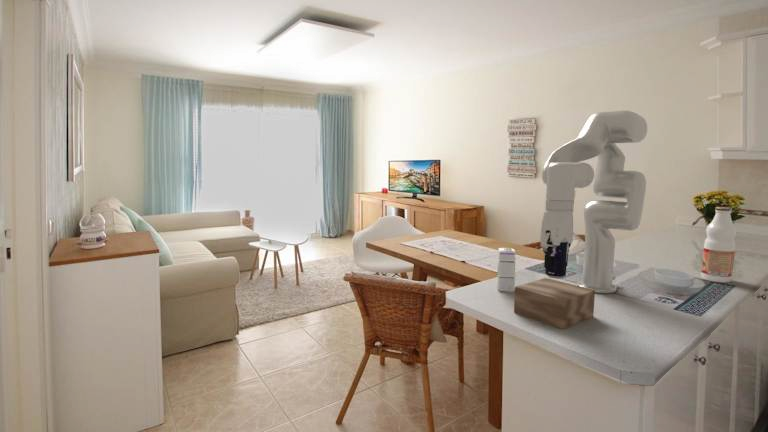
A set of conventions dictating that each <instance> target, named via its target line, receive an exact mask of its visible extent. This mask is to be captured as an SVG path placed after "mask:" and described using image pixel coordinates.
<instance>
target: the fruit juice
mask: <svg viewBox="0 0 768 432" xmlns="http://www.w3.org/2000/svg"><path fill="white" fill-rule="evenodd" d="M714 211H715V215H714V216H713V219H712V220H711V222H710V223H708V225H707V226H706V229H705V234H706V238H705V240H704V243H703V250H702V251H703V252H702V261H701V262H702V263H701V271H700V277H701V279H703V280H705V281H709V282H713V283H725V284H726V283H727V282H728V283H730V282H732V279H733V271H734V264H735V263H734V262H735V254H736V241H735V239H736V237H737V233H738V231H737V227H736V226H735V225H734V222H733V220H732V215H731V213H732V211H733V208H732V207H728V206H716V207H714Z"/></svg>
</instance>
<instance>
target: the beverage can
mask: <svg viewBox="0 0 768 432" xmlns="http://www.w3.org/2000/svg"><path fill="white" fill-rule="evenodd" d="M549 244H550V245H553V244H552V243H549ZM549 248H550V249H551V251H552V247H549ZM567 250H568V241H567V239H566V238H563V240H562V242H561V243H560V245H559V246H557V247H556V251H555V255H554V256H556V264H555V270H551V269H546V268H545V269H544V270H545V272H544V273H545V275H546V276H547V277H548V278H549V279H554V280H555V279H556V280H558V279H559V280H560V279H563V278H564V277H566V276H567V267H568V264H567Z"/></svg>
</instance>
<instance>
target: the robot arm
mask: <svg viewBox="0 0 768 432" xmlns="http://www.w3.org/2000/svg"><path fill="white" fill-rule="evenodd" d="M647 134H648V124H647V120H646V119H645V118H644V117H643V116H641V115H640V114H638V113H637V112H634V111H631V110H615V111H614V110H613V111H611V110H610V111H600V112H596V113H593V114H591V116H589V118H588V119H587V121H586V122H585V124H584V126H583V127H582V128H581V131H580V132H579V134H578V135H577V137H576V138H575V139H572V140H570V141H569V142H567V143H565V144H563V145H562V146H560V147H558V148H556V149H555V150H554V151H553V152H552V153H551V154H550V156H548V159H547V161H546V162H545V164H544V165H543V168H542V171H541V179H542V181H543V184H545V185H546V193H545V207H544V213H543V214H542V215H543V216H542V221H541V227H540V228H541V229H540V237H539V242H540V247H541V248H542V251H543V255H544V263H543V264H544V265H543V267H544V268H546V269H551V270H555V264H556V256H554V255H555V251H556V247H557V246H559V245H560V243H561V242H562V240H563V238H566V239H567V241H568V250H567V265H568V261H569V252H570V247H571V245H572V243H573V241H574V238H573V234H574V210H575V209H574V207H575V206H574V205H575V192H576V191H575V189H583V188H587V187H588V186H590V185H591V184H592V183H593V193H594V194H595V195H596V196H597V197H601V198H610V199H611V198H612V199H623V200H626V201H616V200H603V199H602V200H601V199H600V200H599V199H598V200H597V199H596V200H591V201H589V202H587V203H586V205H585V207H584V209H583V218H584V229H585V231H584V248H583V250H584V251H583V263H582V264H583V266H582V279H581V280H579V281H577V284H576V286H580V287H584V288H588V289H592V290H595V294H596V293H597V294H613V293H616V292H617V288H618V287H617V286H616V285H614V284H613V280H616V275H615V274H614V265H615V264H614V263H615V261H614V260H615V252H616V251H615V249H616V240H615V237H614V235H613V234H612V232H611V230H620V231H636V230H637V229H638V228H639V226H640V223H641V221H642V215H643V209H644V201H645V197H646V189H647V180H646V176H645V175H644V174H643V172H641V171H636V170H624V169H625V163H626V156H625V154H624V152H623V151H622V150H621V148H619V146H618V145H617V144H632V143H633V144H635V143H641V142H642V141H644V139H645V138H646V136H647ZM596 157H597V161H596V162H597V163H596V170H595V171H594V168H593V167H592V165H591V164H589V163H586V162H584V161H587V160H591V159H593V158H596ZM549 243H552V244H553V245H550V244H549ZM549 247H552V251H551V249H550V248H549Z"/></svg>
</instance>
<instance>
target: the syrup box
mask: <svg viewBox="0 0 768 432" xmlns="http://www.w3.org/2000/svg"><path fill="white" fill-rule="evenodd" d="M496 280H497V282H496V284H497V285H496V286H497V287H496V288H497V291H498V292H506V293H507V292H511V293H515V287H516V250H515V248H512V247H498V248H497V279H496Z"/></svg>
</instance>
